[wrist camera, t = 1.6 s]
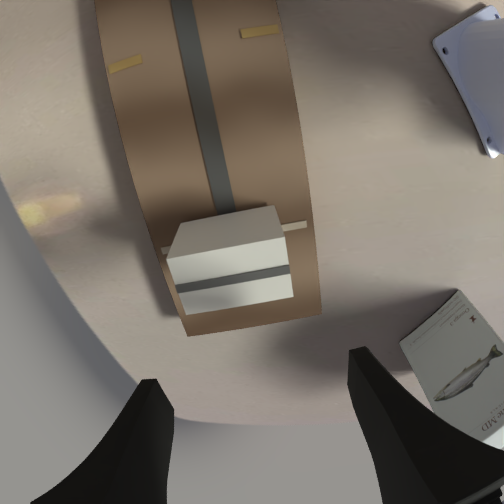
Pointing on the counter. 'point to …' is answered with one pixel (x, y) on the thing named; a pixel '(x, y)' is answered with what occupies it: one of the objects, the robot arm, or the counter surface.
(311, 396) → the counter surface
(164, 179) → the fader board
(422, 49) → the counter surface
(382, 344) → the counter surface
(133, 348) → the counter surface
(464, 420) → the supplement box
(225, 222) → the fader knob
